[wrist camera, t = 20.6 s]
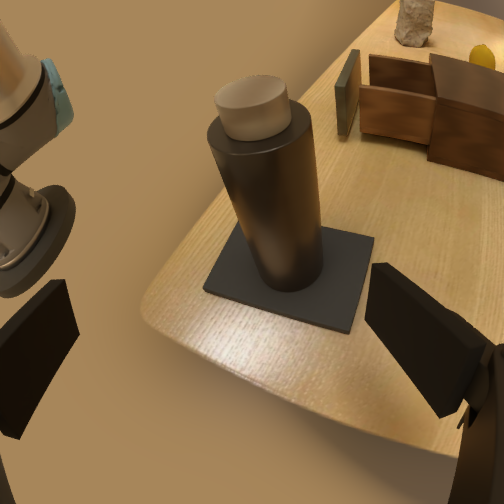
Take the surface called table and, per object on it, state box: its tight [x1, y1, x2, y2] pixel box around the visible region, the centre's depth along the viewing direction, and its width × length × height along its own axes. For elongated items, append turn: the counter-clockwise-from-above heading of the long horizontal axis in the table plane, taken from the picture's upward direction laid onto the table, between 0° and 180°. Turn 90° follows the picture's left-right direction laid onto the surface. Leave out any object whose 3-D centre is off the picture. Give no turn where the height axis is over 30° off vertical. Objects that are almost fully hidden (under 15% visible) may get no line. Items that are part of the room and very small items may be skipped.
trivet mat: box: [203, 220, 374, 334], centre depth 27 cm, size 13×9×1 cm
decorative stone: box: [394, 0, 435, 47], centre depth 48 cm, size 10×9×15 cm
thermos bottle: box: [207, 75, 323, 292], centre depth 20 cm, size 6×6×16 cm
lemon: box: [469, 44, 495, 70], centre depth 37 cm, size 6×6×8 cm
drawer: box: [335, 49, 436, 145], centre depth 33 cm, size 15×13×7 cm
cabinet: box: [427, 53, 504, 182], centre depth 28 cm, size 15×14×9 cm
